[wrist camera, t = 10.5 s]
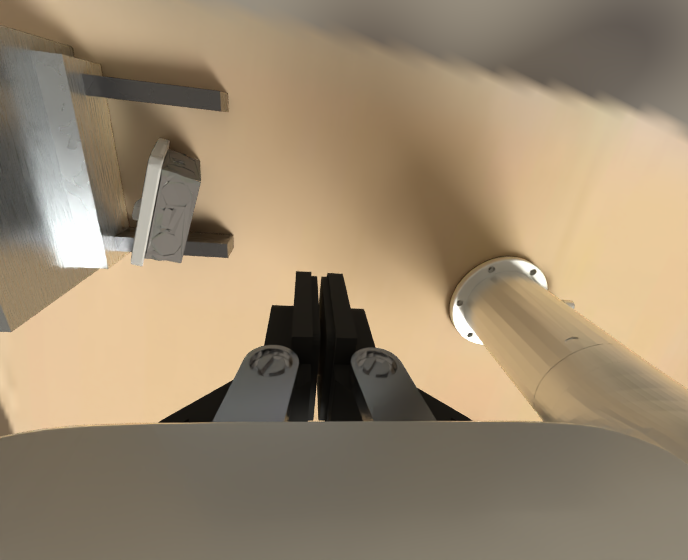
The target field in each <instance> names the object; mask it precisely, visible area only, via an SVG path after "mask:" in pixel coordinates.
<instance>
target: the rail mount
mask: <svg viewBox="0 0 688 560" xmlns="http://www.w3.org/2000/svg"><path fill="white" fill-rule="evenodd" d="M107 98H113V99H122V100H130V101H138V102H147V103H155V104H164V105H172V106H181V107H189V108H198V109H206V110H215V111H224V112H229V109H228V94H227V93H224V92H221V91H215V90H207V89H199V88H191V87H183V86H175V85H167V84H159V83H151V82H143V81H135V80H128V79H120V78H112V77H104V76H103V75H102V70H101V64H97V63H93V62H89V61H86V60H82V59H78V58H74V54H73V49H72V47H70V46H67V45H64V44H61V43H57V42H54V41H51V40H48V39H44V38H41V37H38V36H35V35H31V34H28V33H25V32H21V31H18V30H15V29H12V28H8V27H5V26H2V25H0V332H12V331H13V330H15V329H16V328H18V327H19V326H20V325H22V324H23V323H25V322H26V321H27V320H29V319H30V318H31V317H33V316H34V315H36V314H37V313H38V312H40V311H41V310H43V309H44V308H45V307H47V306H48V305H50V304H51V303H52V302H54V301H55V300H56V299H58V298H59V297H61V296H62V295H63V294H65V293H66V292H68V291H69V290H70V289H72V288H73V287H75V286H76V285H77V284H79V283H80V282H81V281H83V280H84V279H86V278H87V277H88V276H90V275H91V274H93V273H94V272H95V271H97V270H98V269H100V268H104V269H109V268H110V267H111V266H113V265H114V264H115V263H117V262H118V261H119V260H121V259H122V258H123V257H125V256H126V255H127V254H129V253H130V252H132V249H133V243H134V237H135V232H136V228H129V222H128V217H127V211H126V205H125V200H124V194H123V188H122V183H121V177H120V171H119V166H118V160H117V154H116V149H115V143H114V137H113V132H112V126H111V120H110V115H109V109H108V103H107ZM233 248H234V241H233V235H230V234H215V233H201V232H189V233H188V237H187V241H186V245H185V249H184V253H183V255H189V256H205V257H222V258H228V257H229V255H230V253H231V252H232V250H233Z"/></svg>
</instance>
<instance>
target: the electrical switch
mask: <svg viewBox="0 0 688 560" xmlns="http://www.w3.org/2000/svg"><path fill="white" fill-rule="evenodd" d="M169 144H170V140H166V139H163V138H159V139H158V141H157V142H156V144H155V146H154V148H153V150H152V152H151V155H150V157H149V160H148V164H147V170H146V175H145V181H144V187H143V192H142V198H141V199H139V200H138V201H136V203H135V205H134V209H133V214H132V219H133V220H136V221H137V226H136V232H135V237H134V243H133V249H132V256H131V264H133V265H138V266H143V261H144V258H146V259H154V260H158V261H161V260H167V261H172V262H178V263H181V262H182V257H183V253H184V249H185V245H186V241H187V237H188V233H189V229H190V224H191V220H192V216H193V212H194V208H195V204H196V200H197V195H198V191H199V187H200V183H201V182H199V181H201V174H200V161H199V160H196V159H193V158H190V157H187V156H186V155H185V154H182V153H179V152H176V151H173V150H170V149H169ZM196 180H198V181H196Z"/></svg>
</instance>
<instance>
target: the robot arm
mask: <svg viewBox="0 0 688 560" xmlns="http://www.w3.org/2000/svg"><path fill="white" fill-rule="evenodd" d="M574 307H575V305H574V303H573V301H570V300H560V299H559V298H557V297H556V296H555V295H553V294H552V293H550V292H549V291H548V286H547V280H546V278H545V276H544V274H543V273H542V271H541V270H540V269H539V268H538V267H537V266H535V265H534V264H532V263H531V262H529V261H527V260H525V259H522V258H518V257H509V256H507V257H499V258H495V259H492V260H489V261H486V262H484V263H482V264H480V265H479V266H477V267H476V268H474V269H473V270H471V271H470V272H469V273H468V274H467V275H466V276H465V277H464V278H463V279H462V280H461V281H460V283H459V284H458V285H457V287H456V289H455V291H454V293H453V295H452V298H451V301H450V318H451V320H452V323H453V325H454V327H455V328H456V330H457V331H458V332H459V333H460V335H461V336H463V337H464V338H465V339H467V340H469V341H471V342H474V343H478V344H483V345H484V346H485V347H486V349H487V350H488V351H489V352H490V354H491V355H492V356H493V357H494V359H495V360H496V361H497V363H498V364H499V365H500V366H501V368H502V369H503V370H504V372H505V373H506V374H507V375H508V377H509V378H510V379H511V381H512V382H513V383H514V384H515V386H516V387H517V388H518V390H519V391H520V392H521V393H522V395H523V396H524V397H525V398H526V400H527V401H528V402H529V404H530V405H531V406H532V407H533V409H534V410H535V411H536V413H537V414H538V415H539V417H540V418H541V419H542V420H543V422H535V421H472V420H471V419H469V418H468V417H466V416H464V415H463V414H461V413H459V412H458V411H456V410H454V409H452V408H451V407H449V406H447V405H446V404H444V403H442V402H440V401H439V400H437V399H435V398H434V397H432V396H430V395H429V394H427V393H425V392H423V391H422V390H420V389H418V388H417V387H416V386H415V384H414V382H413V381H412V379H411V377H410V376H409V374H408V372H407V371H406V369H405V367H404V366H403V364H402V362H401V361H400V360H399V359H398V357H397V356H395V355H394V354H392V353H391V352H389V351H386V350H384V349H380V348H375V344H374V341H373V338H372V334H371V331H370V328H369V324H368V321H367V318H366V314H365V311H364V309H351V308H350V304H349V299H348V295H347V291H346V286H345V282H344V277H343V274H334V273H328V274H327V277H321V287H320V298H319V300H318V284H317V276H311V272H299V271H296V282H295V296H294V306H279V305H272V307H271V312H270V318H269V323H268V328H267V333H266V339H265V344H264V346H261V347H258V348H256V349H254V350H252V351H251V352H249V353H248V354H247V355H246V357H245V358H244V360H243V362H242V364H241V366H240V368H239V370H238V372H237V374H236V376H235V378H234V380H232V381H230V382H229V383H227V384H225V385H223V386H222V387H220V388H218V389H216V390H214V391H213V392H211V393H209V394H207V395H206V396H204V397H202V398H200V399H198V400H197V401H195V402H193V403H191V404H190V405H188V406H186V407H184V408H182V409H181V410H179V411H177V412H175V413H174V414H172V415H170V416H168V417H167V418H165V419H163V420H161V421H160V422H158V423H126V424H101V425H75V426H65V427H55V428H46V429H38V430H33V431H27V432H22V433H16V434H11V435H6V436H1V437H0V560H688V389H687V388H686V387H684V386H683V385H681V384H680V383H678V382H677V381H675V380H674V379H672V378H671V377H669V376H668V375H666V374H665V373H663V372H662V371H660V370H659V369H657V368H656V367H654V366H653V365H651V364H650V363H649V362H647V361H646V360H644V359H643V358H641V357H640V356H639V355H637V354H636V353H634V352H633V351H632V350H630V349H629V348H627V347H626V346H625V345H623V344H622V343H620V342H619V341H618V340H616V339H615V338H613V337H612V336H611V335H609V334H608V333H606V332H605V331H604V330H602V329H601V328H599V327H598V326H597V325H595V324H594V323H592V322H591V321H590V320H588V319H587V318H585V317H584V316H583V315H581V314H580V313H578V312H577V311H576V310H574ZM316 385H317V395H318V419H319V420H325V422H308V421H313V417H314V407H315V396H316Z"/></svg>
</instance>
